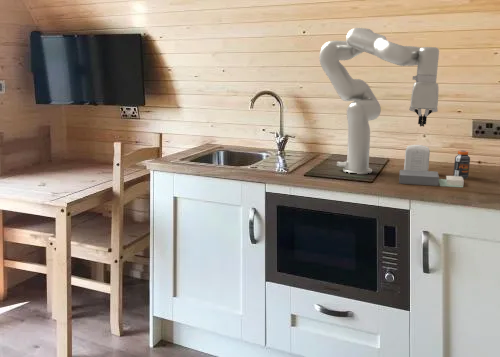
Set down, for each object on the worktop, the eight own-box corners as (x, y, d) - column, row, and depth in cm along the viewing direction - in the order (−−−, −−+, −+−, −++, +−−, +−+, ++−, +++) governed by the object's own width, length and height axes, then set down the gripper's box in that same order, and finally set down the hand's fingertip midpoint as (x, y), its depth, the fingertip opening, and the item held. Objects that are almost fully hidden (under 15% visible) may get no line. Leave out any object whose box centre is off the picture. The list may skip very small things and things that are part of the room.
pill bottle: (458, 179, 220) (460, 152, 218) (450, 176, 226) (452, 149, 224) (471, 178, 222) (473, 151, 219) (463, 175, 227) (465, 149, 225)
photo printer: (428, 172, 233) (430, 144, 231) (427, 174, 230) (429, 146, 227) (404, 170, 237) (406, 143, 235) (403, 172, 233) (405, 144, 231)
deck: (398, 183, 213) (399, 175, 212) (399, 177, 223) (399, 169, 222) (438, 185, 209) (439, 177, 208) (436, 179, 219) (437, 171, 218)
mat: (439, 186, 208) (439, 185, 208) (438, 179, 219) (438, 178, 219) (462, 187, 206) (463, 186, 206) (459, 180, 217) (460, 180, 217)
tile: (463, 180, 207) (463, 185, 207) (462, 176, 214) (461, 181, 215) (447, 179, 209) (447, 184, 209) (446, 175, 216) (445, 180, 216)
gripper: (406, 79, 206) (402, 126, 210) (447, 80, 202) (442, 128, 206) (406, 78, 213) (402, 123, 217) (445, 79, 209) (440, 126, 213)
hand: (421, 126), depth 212 cm, fingers closed
